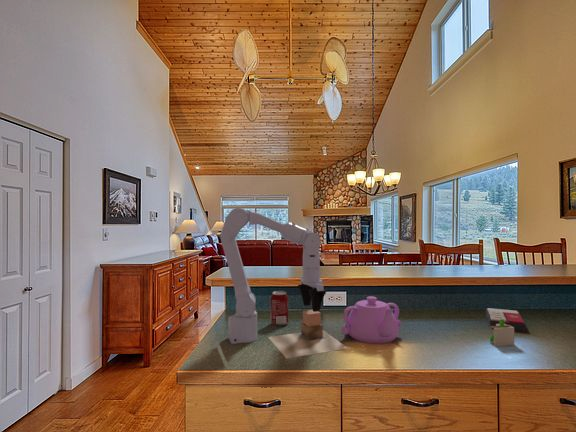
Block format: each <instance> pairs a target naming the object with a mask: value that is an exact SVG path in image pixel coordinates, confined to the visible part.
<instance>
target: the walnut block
mask: <svg viewBox="0 0 576 432" xmlns="http://www.w3.org/2000/svg"><path fill="white" fill-rule="evenodd" d="M300 327H301V328H300V330H301V332H300V333H301V334H302V335H303V336H304V337H305V338H306V339H307V340H308V339H315V338H322V337H323V331H324V329H323V328H324V326H323V324H322V323H321V325H317V326H309V327H308V326H307V325H305V324H304V323H303V321H301V322H300Z"/></svg>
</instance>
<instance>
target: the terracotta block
mask: <svg viewBox="0 0 576 432" xmlns="http://www.w3.org/2000/svg"><path fill="white" fill-rule="evenodd" d="M321 314H322V313H321V312H320V311H316V312H314V311H313V309H308V310H302V322H303V323H304V324H305V325H307V326H308V327H309V326H317V325H321V324H322V322H321V321H322V320H321V319H322V315H321Z"/></svg>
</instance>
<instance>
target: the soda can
mask: <svg viewBox="0 0 576 432" xmlns="http://www.w3.org/2000/svg"><path fill="white" fill-rule="evenodd" d="M270 323H271V325H274V326H277V327H283V326H286V325H287V324H288V323H289V296H288V295H287V292H286V291H283V290H276V291H275V290H274V291H272V295H270Z"/></svg>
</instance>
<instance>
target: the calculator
mask: <svg viewBox="0 0 576 432" xmlns="http://www.w3.org/2000/svg"><path fill="white" fill-rule="evenodd" d="M485 319H486V320H487V323H488V326H489V327H490V326H496V324H500V319H504V324H506V325H510V326H512V327H514V332H516V331H517V332H524V333H525V332H527V324H526V322H525V320H524V319H523V317H522V316H521V313H520V312H519V311H518V310H511V309H501V308H491V307H490V308H489V307H488V308H486V309H485Z"/></svg>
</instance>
